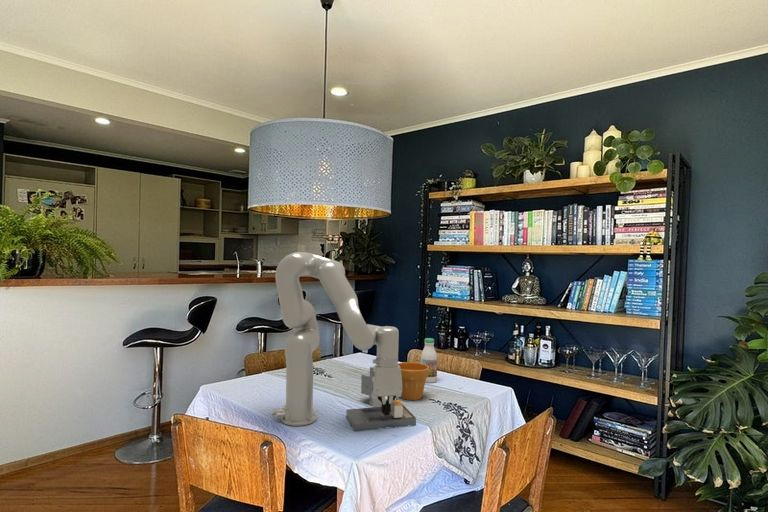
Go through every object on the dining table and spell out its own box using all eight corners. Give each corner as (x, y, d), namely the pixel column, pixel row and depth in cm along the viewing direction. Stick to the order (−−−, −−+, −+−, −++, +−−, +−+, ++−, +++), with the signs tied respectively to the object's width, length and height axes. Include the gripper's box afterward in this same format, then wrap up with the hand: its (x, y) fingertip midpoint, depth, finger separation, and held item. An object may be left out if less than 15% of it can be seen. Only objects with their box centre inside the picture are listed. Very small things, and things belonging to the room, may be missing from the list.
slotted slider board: (354, 431, 150) (354, 423, 150) (346, 416, 163) (346, 409, 163) (415, 425, 156) (416, 417, 156) (402, 411, 169) (403, 404, 169)
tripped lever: (394, 417, 155) (394, 404, 155) (390, 413, 159) (391, 400, 158) (402, 417, 156) (402, 404, 155) (399, 412, 159) (399, 400, 159)
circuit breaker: (370, 397, 185) (370, 361, 185) (397, 404, 176) (397, 367, 176) (357, 401, 180) (358, 364, 179) (385, 409, 170) (385, 371, 170)
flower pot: (423, 391, 194) (424, 361, 194) (432, 402, 180) (432, 370, 180) (391, 392, 192) (392, 362, 192) (398, 403, 178) (398, 371, 178)
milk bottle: (417, 380, 211) (417, 338, 211) (429, 377, 215) (429, 336, 215) (428, 384, 205) (428, 341, 204) (440, 381, 209) (441, 339, 209)
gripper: (369, 365, 150) (368, 420, 150) (410, 363, 154) (409, 416, 154) (364, 360, 157) (362, 412, 157) (403, 358, 161) (402, 408, 162)
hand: (386, 414), depth 156 cm, fingers closed
